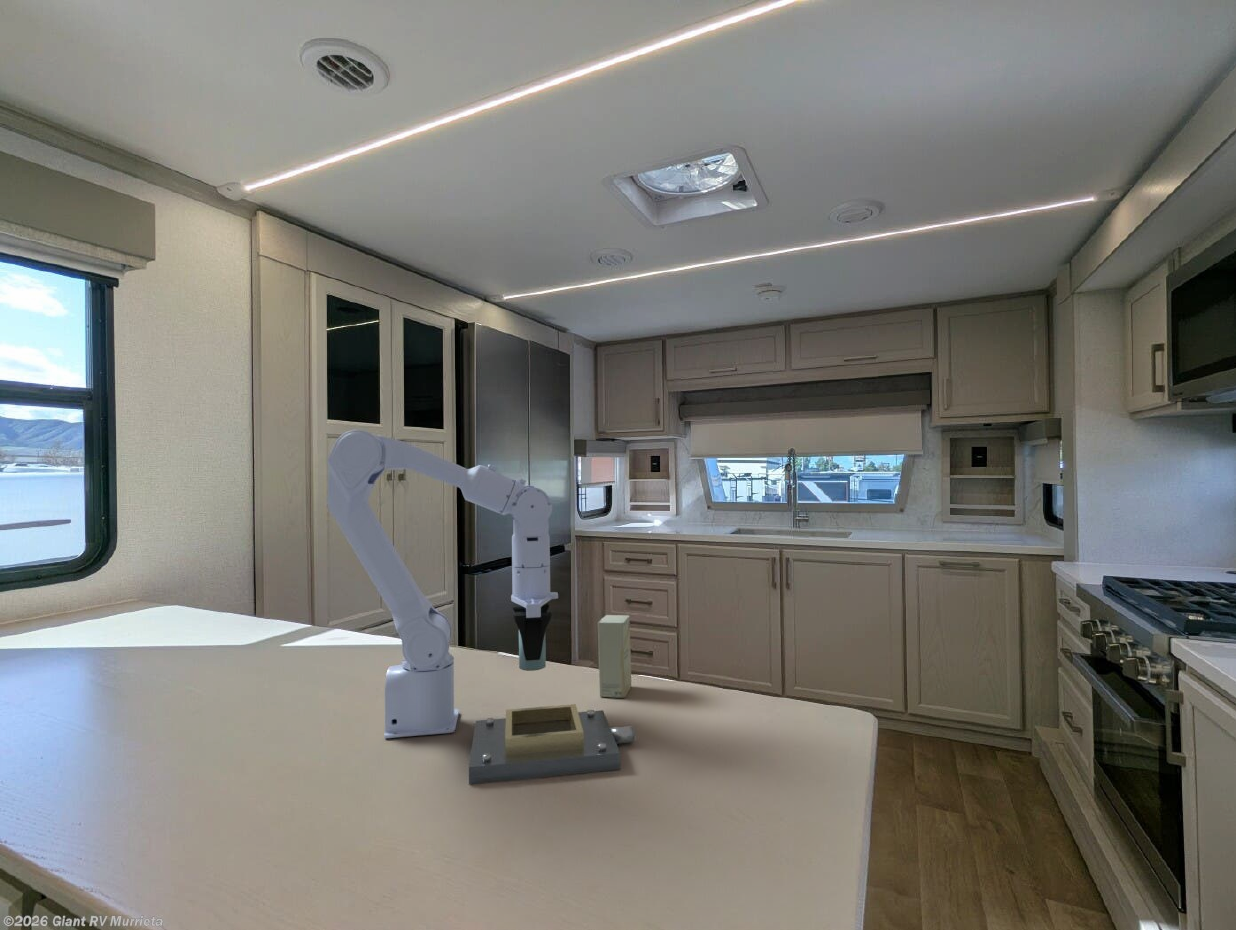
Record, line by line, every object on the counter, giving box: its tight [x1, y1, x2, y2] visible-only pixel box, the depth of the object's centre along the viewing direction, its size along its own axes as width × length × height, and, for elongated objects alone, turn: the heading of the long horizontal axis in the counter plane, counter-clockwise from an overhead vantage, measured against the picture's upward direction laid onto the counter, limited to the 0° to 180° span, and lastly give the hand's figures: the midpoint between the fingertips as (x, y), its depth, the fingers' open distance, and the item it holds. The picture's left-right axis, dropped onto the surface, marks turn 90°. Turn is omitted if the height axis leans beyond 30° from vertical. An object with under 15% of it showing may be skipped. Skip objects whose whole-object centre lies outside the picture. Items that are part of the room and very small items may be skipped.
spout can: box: [518, 630, 547, 672], centre depth 92 cm, size 4×4×7 cm
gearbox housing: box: [468, 703, 635, 786], centre depth 80 cm, size 21×14×4 cm, turn 100°
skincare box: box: [597, 614, 632, 699], centre depth 101 cm, size 6×4×12 cm
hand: (532, 655), depth 92 cm, fingers closed on spout can, 4 cm apart
